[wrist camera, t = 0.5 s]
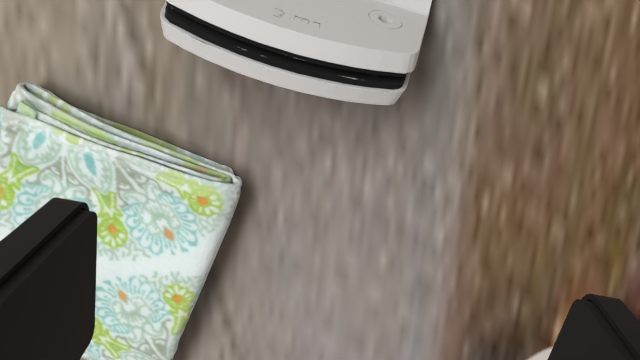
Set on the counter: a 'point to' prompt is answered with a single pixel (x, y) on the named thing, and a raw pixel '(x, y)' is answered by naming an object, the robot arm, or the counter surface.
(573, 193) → the counter surface
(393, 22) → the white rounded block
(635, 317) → the robot arm
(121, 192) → the towel
